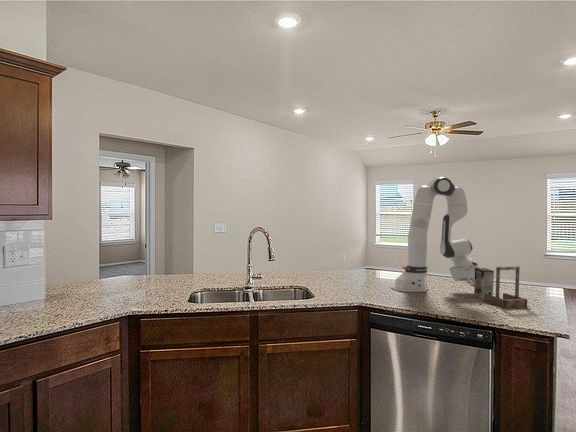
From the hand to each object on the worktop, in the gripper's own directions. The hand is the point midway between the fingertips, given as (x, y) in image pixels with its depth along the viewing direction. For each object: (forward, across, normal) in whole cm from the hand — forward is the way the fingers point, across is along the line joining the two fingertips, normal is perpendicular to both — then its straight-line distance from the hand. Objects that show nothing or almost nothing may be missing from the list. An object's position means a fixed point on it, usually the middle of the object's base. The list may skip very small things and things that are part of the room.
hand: (473, 285), depth 239 cm
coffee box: (+9, 0, -2) cm, 10 cm away
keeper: (+20, 0, -13) cm, 24 cm away
